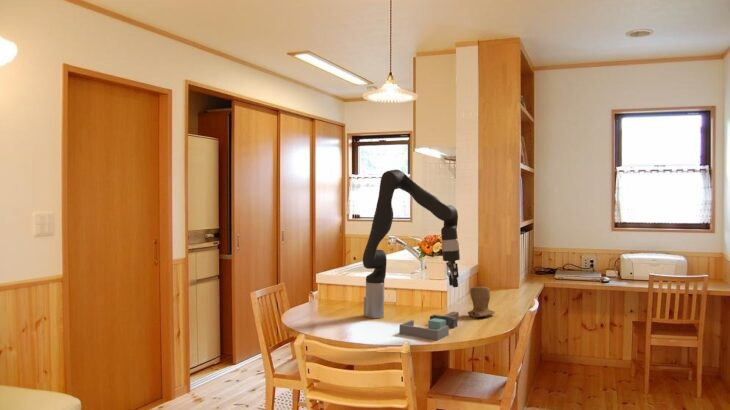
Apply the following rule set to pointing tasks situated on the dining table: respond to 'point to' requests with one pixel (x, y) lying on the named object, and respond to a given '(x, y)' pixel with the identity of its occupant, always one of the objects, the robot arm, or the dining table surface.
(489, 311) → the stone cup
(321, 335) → the dining table surface
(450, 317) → the long-handled tray
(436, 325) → the teal square block
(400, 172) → the robot arm
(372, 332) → the dining table surface
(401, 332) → the box
